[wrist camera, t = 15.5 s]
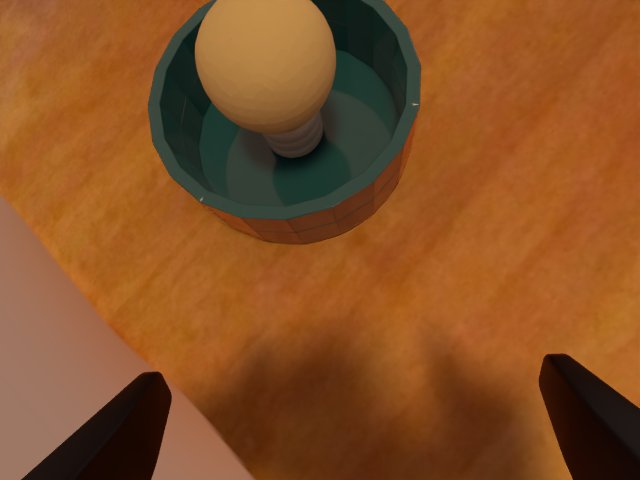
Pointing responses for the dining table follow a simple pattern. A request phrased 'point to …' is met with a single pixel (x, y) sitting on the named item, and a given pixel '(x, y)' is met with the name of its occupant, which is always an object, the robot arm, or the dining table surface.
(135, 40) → the dining table surface
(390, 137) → the round teal dish
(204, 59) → the light bulb
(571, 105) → the dining table surface
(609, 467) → the robot arm
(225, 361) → the dining table surface
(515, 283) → the dining table surface
